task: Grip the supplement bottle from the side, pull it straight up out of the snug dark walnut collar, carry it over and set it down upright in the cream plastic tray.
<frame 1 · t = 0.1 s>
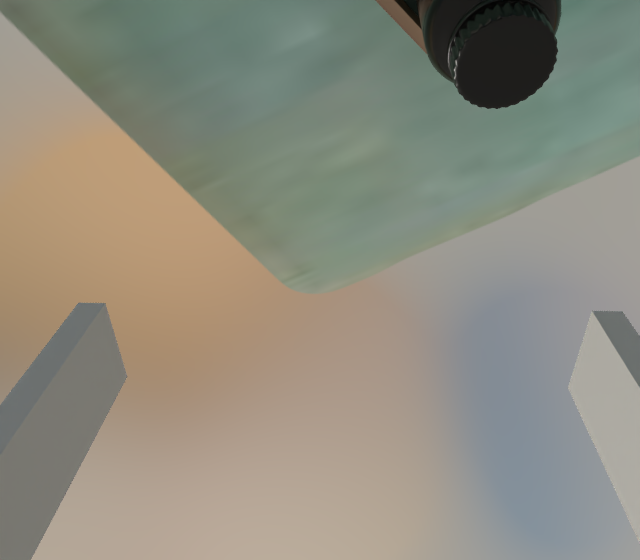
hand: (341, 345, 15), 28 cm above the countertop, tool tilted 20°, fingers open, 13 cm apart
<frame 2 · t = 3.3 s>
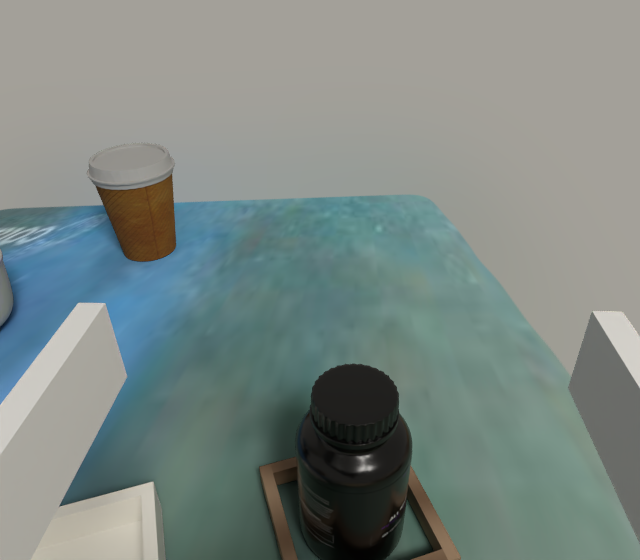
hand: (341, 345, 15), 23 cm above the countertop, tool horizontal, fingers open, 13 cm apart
supplement bottle: (351, 523, 36), resting in walnut collar
disposable coffee cup: (150, 250, 66), on the countertop
walnut collar: (351, 521, 35), on the countertop
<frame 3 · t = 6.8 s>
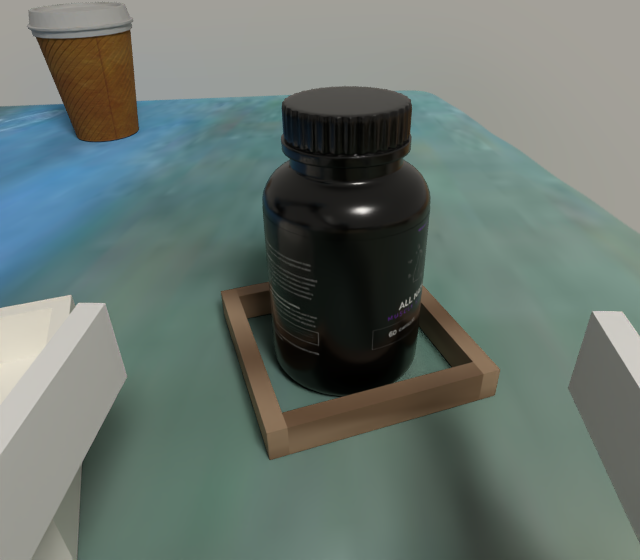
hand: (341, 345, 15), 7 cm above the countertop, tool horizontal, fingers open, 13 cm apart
supplement bottle: (345, 354, 26), resting in walnut collar
disposable coffee cup: (108, 134, 57), on the countertop
walnut collar: (345, 350, 26), on the countertop
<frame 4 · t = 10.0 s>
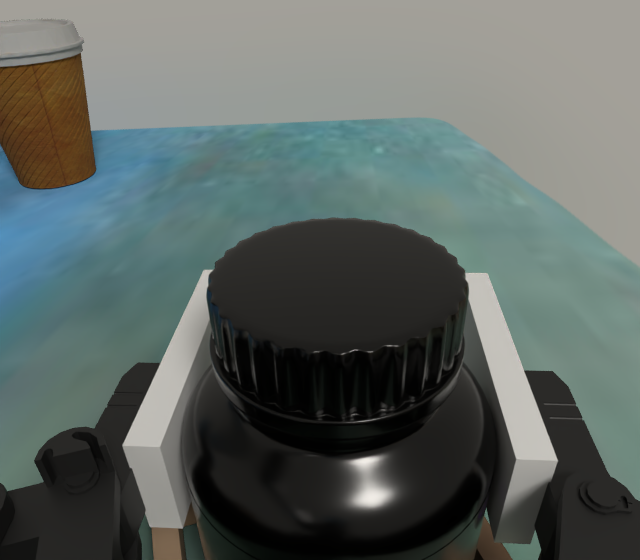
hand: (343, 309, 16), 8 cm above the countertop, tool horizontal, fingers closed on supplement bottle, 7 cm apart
disposable coffee cup: (59, 177, 47), on the countertop
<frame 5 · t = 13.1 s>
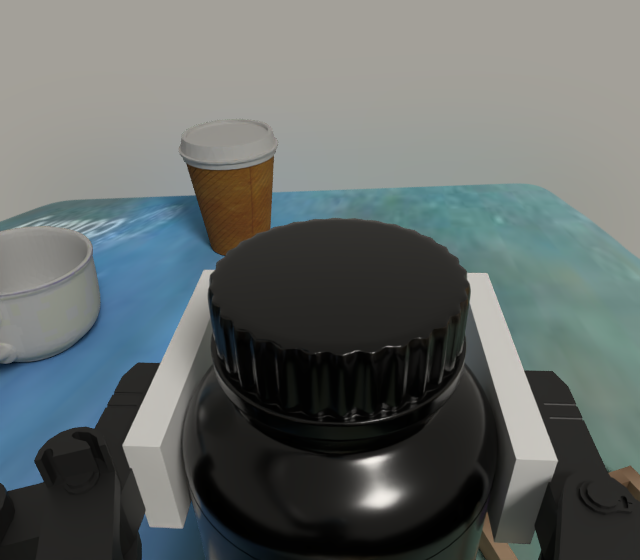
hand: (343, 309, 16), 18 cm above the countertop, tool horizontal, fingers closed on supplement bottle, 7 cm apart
teacup: (35, 351, 43), on the countertop
disposable coffee cup: (240, 244, 57), on the countertop
when the fingers open (9 cm above the countertop, at t = 16.3 s): supplement bottle stays where it is, resting on cream tray.
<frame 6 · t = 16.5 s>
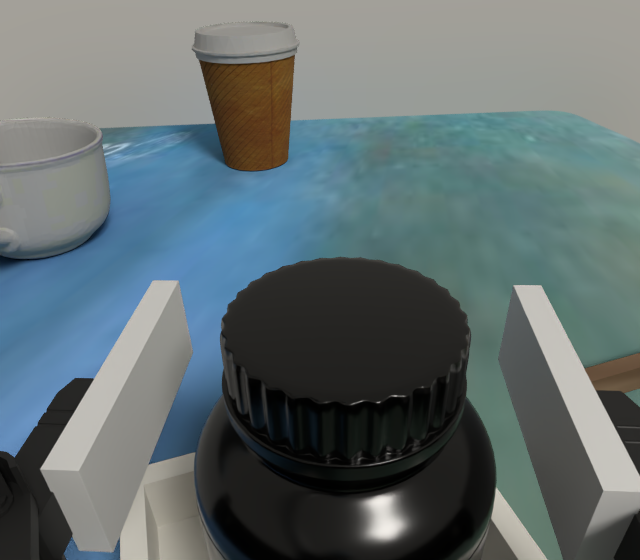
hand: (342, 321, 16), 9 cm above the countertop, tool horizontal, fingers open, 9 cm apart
teacup: (39, 251, 39), on the countertop
disposable coffee cup: (257, 161, 53), on the countertop
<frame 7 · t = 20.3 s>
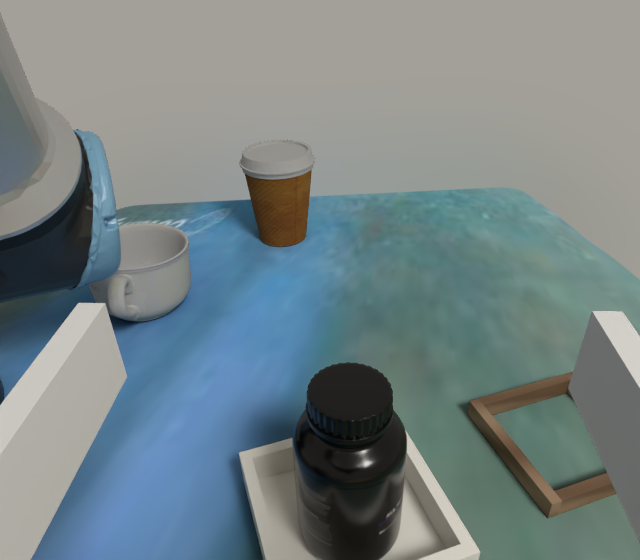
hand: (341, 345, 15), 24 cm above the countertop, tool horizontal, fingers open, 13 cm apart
cream tray: (347, 525, 36), on the countertop
teacup: (144, 314, 58), on the countertop
supplement bottle: (349, 523, 36), resting on cream tray
disposable coffee cup: (283, 237, 73), on the countertop
walnut collar: (559, 442, 41), on the countertop
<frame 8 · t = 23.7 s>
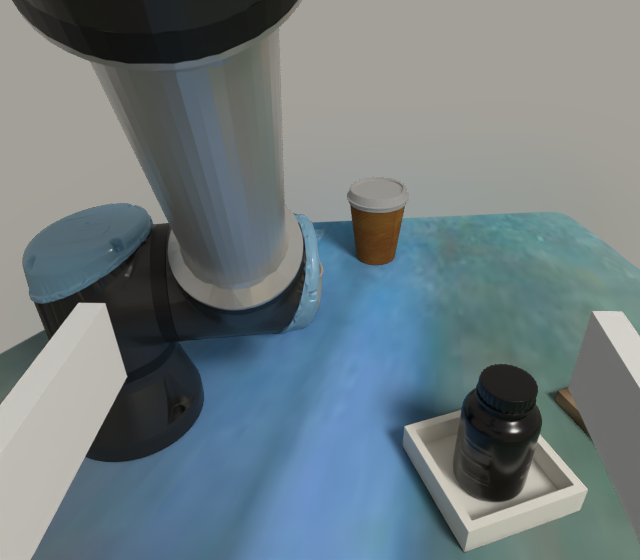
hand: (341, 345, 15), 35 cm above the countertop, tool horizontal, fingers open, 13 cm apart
cream tray: (485, 476, 52), on the countertop
supplement bottle: (487, 475, 52), resting on cream tray
disposable coffee cup: (375, 256, 88), on the countertop
walnut collar: (625, 421, 57), on the countertop
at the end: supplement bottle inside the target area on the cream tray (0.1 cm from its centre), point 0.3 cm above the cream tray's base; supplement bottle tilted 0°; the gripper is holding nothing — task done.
